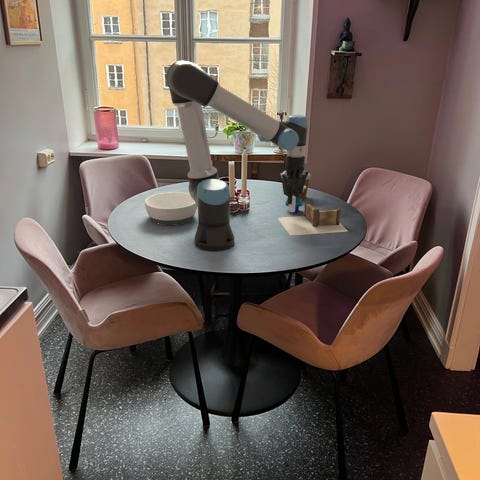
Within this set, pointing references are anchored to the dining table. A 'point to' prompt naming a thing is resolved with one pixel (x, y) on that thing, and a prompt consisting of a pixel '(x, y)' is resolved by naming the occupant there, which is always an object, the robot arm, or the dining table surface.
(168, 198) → the bowl
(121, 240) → the dining table surface
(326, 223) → the fence fixed
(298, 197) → the toy
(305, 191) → the disposable coffee cup
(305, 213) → the fence gate
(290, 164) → the robot arm
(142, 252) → the dining table surface
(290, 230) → the card
